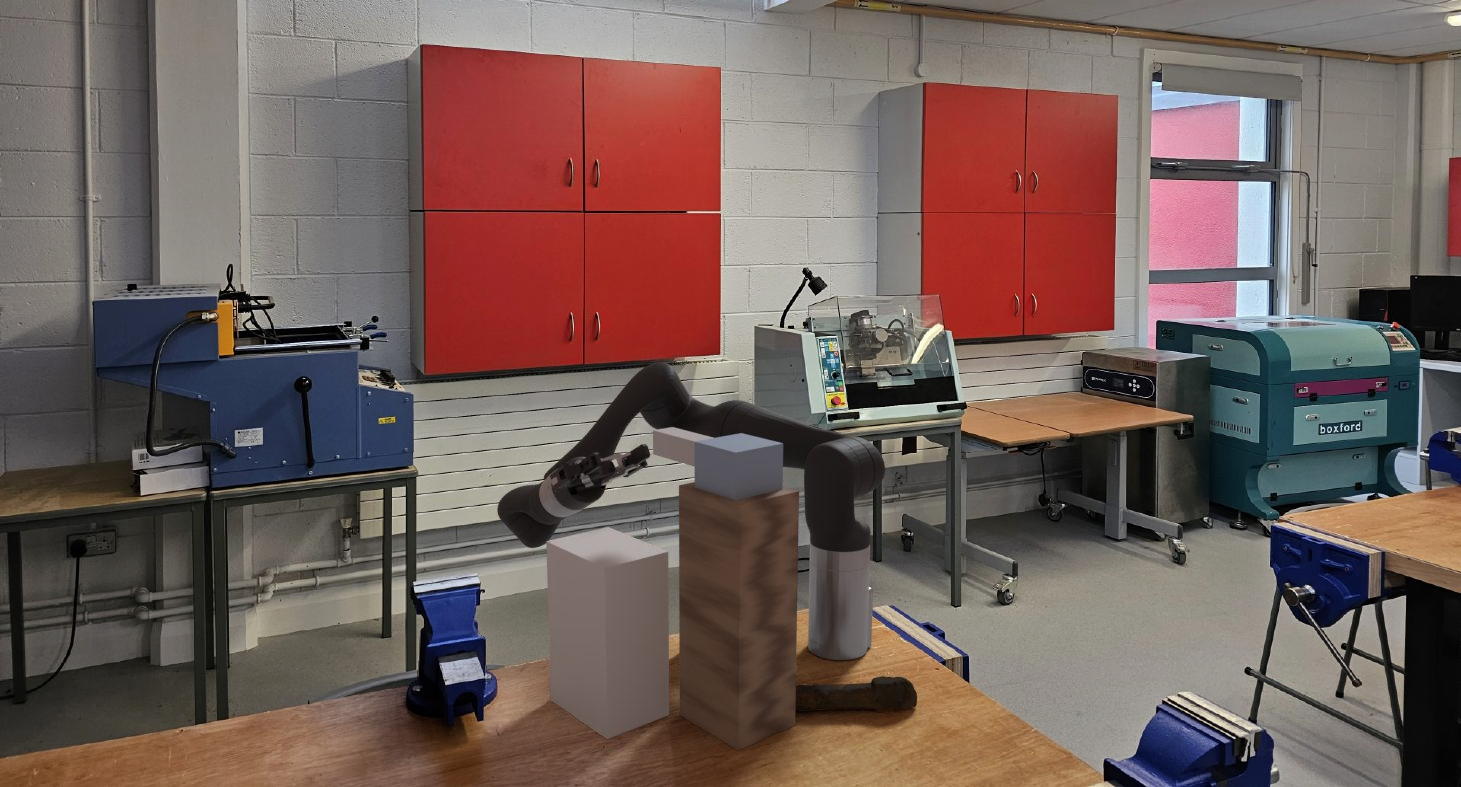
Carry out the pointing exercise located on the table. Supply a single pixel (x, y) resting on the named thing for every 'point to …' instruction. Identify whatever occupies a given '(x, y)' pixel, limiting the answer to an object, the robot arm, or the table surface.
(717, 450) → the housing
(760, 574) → the walnut stand
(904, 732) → the table surface
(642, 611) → the grey pedestal
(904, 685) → the hand tool
